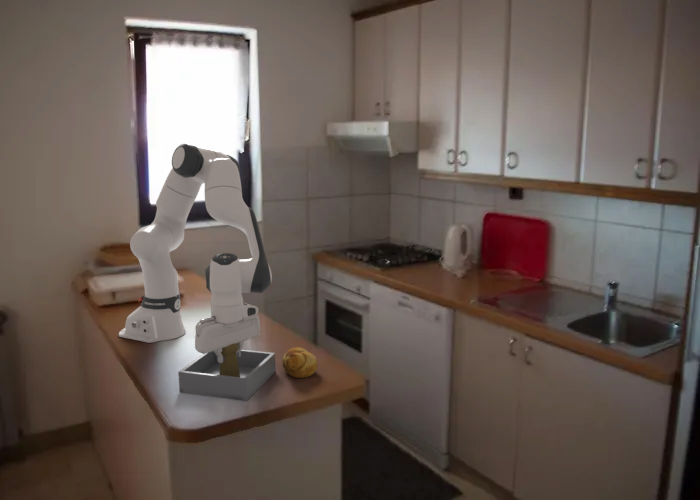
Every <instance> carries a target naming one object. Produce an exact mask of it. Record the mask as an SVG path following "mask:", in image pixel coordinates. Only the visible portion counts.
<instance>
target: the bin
mask: <svg viewBox="0 0 700 500" xmlns="http://www.w3.org/2000/svg"><path fill="white" fill-rule="evenodd" d="M237 360H238V366H239V372H240V377H232V376H224V375H219V373H220V364H221V363H219V362H218V356H217V355H216V354H215V352H214V351H212V352H209V353H206V354H202V353H201V355H200V356H198V357H197V358H195V359H194V360H192V361H191V362H190V363H188V364H187V365H186V366H184V367H183V368H182V369H180V370H179V371H178V386H179V389H178V390H179V393H182V394H189V395H197V396H205V397H212V398H221V399H228V400H234V401H235V400H237V401H244V402H245V401H246V402H248V401H249V399H251V398H252V396H253V395H254V394H255V393H257V392H258V390H259V389H261V387H263V386H264V385H265V384H266V382H268V381H269V379H271V377H273V376H274V374H276V353H275V352H269V351H260V350H251V349H249V350H241V356H240V357H237Z"/></svg>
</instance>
